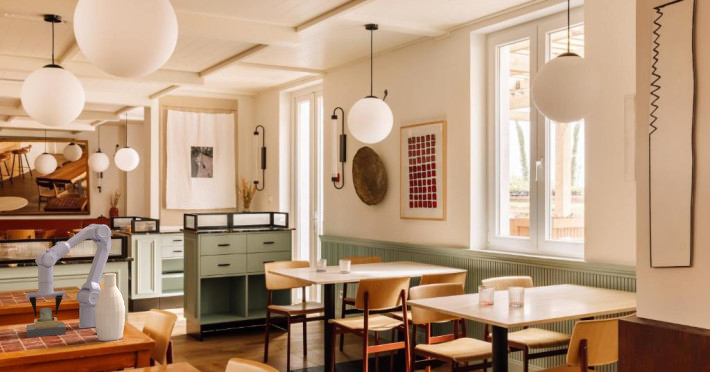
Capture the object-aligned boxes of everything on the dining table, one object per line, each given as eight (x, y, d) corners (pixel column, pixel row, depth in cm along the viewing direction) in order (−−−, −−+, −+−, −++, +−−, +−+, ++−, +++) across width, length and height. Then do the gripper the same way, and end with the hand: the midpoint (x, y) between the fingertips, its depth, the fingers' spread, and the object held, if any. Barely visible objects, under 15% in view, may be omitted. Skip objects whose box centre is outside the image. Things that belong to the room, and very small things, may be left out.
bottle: (107, 342, 259) (107, 276, 260) (89, 339, 265) (88, 274, 266) (131, 337, 269) (131, 273, 269) (113, 334, 275) (112, 271, 275)
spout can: (53, 324, 281) (53, 307, 281) (47, 327, 275) (47, 310, 275) (42, 324, 280) (42, 307, 281) (36, 327, 275) (36, 310, 275)
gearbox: (63, 329, 287) (63, 315, 287) (65, 334, 276) (65, 320, 276) (26, 332, 281) (26, 318, 281) (27, 337, 270) (27, 323, 270)
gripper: (64, 279, 286) (64, 311, 285) (26, 281, 279) (26, 314, 279) (65, 281, 279) (65, 314, 279) (26, 283, 273) (26, 317, 273)
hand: (46, 314), depth 279 cm, fingers open, 7 cm apart
